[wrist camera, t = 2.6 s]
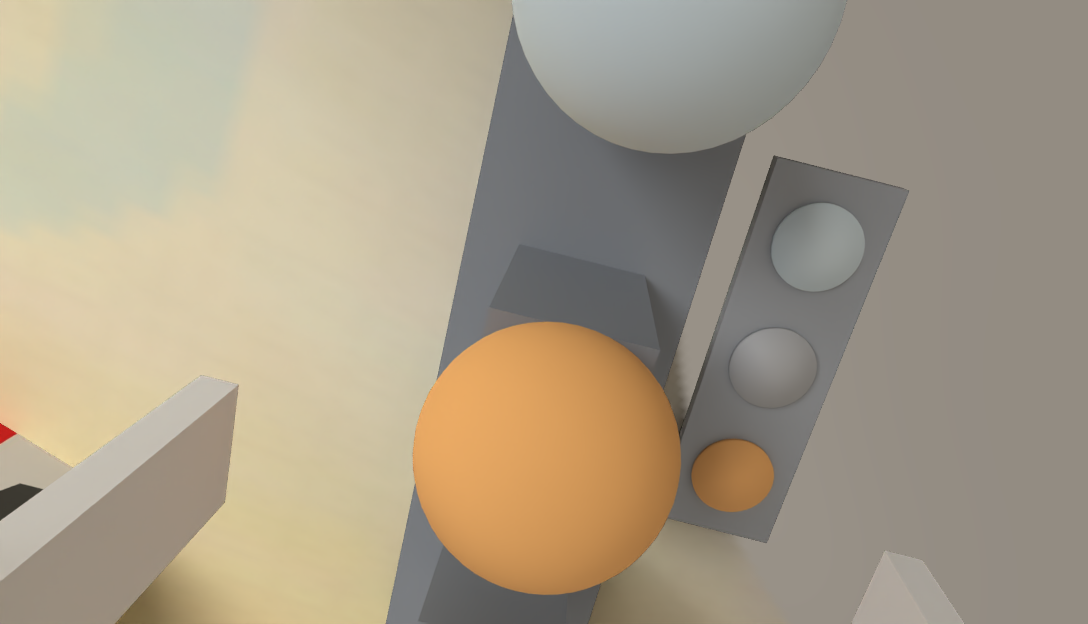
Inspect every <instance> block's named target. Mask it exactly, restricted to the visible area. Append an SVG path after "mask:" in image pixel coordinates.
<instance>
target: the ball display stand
mask: <svg viewBox="0 0 1088 624" xmlns="http://www.w3.org/2000/svg"><path fill="white" fill-rule="evenodd" d="M745 135H746V134H745ZM745 135H743V136H741V137H739V138H737V139H735V140H733V141H730V142H728V143H725V144H722V145H719V146H716V147H714V148H709V149H705V150H700V151H695V152H688V153H676V154H665V153H649V152H644V151H639V150H633V149H629V148H626V147H623V146H620V145H617V144H614V143H611V142H609V141H607V140H605V139H603V138H601V137H599V136H597V135H595V134H593V133H591V132H590V131H588V130H587V129H585V128H584V127H582V126H581V125H579V124H578V123H576V122H575V121H574V120H573V119H572V118H571V117H569V116H568V115H567V114H566V113H565V112H564V111H563V110H561V109H560V107H559V106H558V105H557V104H556V103H555V102H554V101H553V100H552V98H551V97H550V96H549V95H548V94H547V93H546V91H545V90H544V88H543V87H542V85H541V84H540V82H539V81H538V79H537V78H536V76H535V74H534V72H533V70H532V68H531V66H530V64H529V62H528V60H527V58H526V56H525V54H524V51H523V48H522V45H521V43H520V40H519V37H518V33H517V29H516V24H515V20H514V15H513V18H512V22H511V27H510V32H509V37H508V42H507V46H506V51H505V56H504V61H503V65H502V70H501V75H500V80H499V85H498V89H497V94H496V99H495V104H494V109H493V113H492V118H491V123H490V128H489V132H488V137H487V142H486V147H485V152H484V156H483V161H482V166H481V171H480V176H479V180H478V185H477V190H476V195H475V199H474V204H473V209H472V214H471V219H470V223H469V228H468V233H467V238H466V242H465V247H464V252H463V257H462V262H461V266H460V271H459V276H458V281H457V286H456V290H455V295H454V300H453V305H452V309H451V314H450V319H449V324H448V329H447V333H446V338H445V343H444V348H443V353H442V357H441V362H440V367H439V372H438V376H437V379H438V378H439V376H440V375H441V374H442V372H443V371H444V370H445V369H446V368H447V367H448V365H449V364H450V363H451V362H452V361H453V360H454V359H455V358H456V357H457V356H459V355H460V354H461V353H462V352H463V351H464V350H466V349H467V348H468V347H470V346H471V345H473V344H474V343H476V342H477V341H479V340H480V339H482V338H484V337H486V336H488V335H490V334H492V333H494V332H496V331H499V330H502V329H505V328H508V327H511V326H514V325H520V324H525V323H532V322H563V323H568V324H574V325H579V326H582V327H585V328H588V329H591V330H594V331H597V332H599V333H601V334H603V335H606V336H608V337H610V338H612V339H613V340H615V341H616V342H618V343H620V344H621V345H623V346H624V347H626V348H627V349H628V350H629V351H631V352H632V353H633V354H634V355H635V356H637V357H638V358H639V359H640V360H641V362H642V363H643V364H644V365H645V366H646V367H647V368H648V369H649V370H650V372H651V373H652V374H653V376H654V377H655V378H656V380H657V381H658V383H659V384H660V385H661V387H662V389H663V390H664V387H665V384H666V381H667V377H668V374H669V371H670V368H671V365H672V362H673V359H674V356H675V353H676V350H677V346H678V343H679V340H680V337H681V334H682V331H683V328H684V325H685V322H686V319H687V315H688V312H689V309H690V306H691V303H692V300H693V297H694V294H695V291H696V287H697V285H698V281H699V278H700V275H701V272H702V269H703V266H704V263H705V259H706V257H707V254H708V250H709V247H710V244H711V241H712V238H713V235H714V232H715V229H716V226H717V223H718V219H719V216H720V213H721V210H722V207H723V204H724V201H725V198H726V195H727V191H728V188H729V185H730V182H731V179H732V176H733V173H734V170H735V167H736V164H737V160H738V158H739V154H740V151H741V148H742V145H743V142H744V139H745ZM600 585H601V583H600V584H598V585H595V586H593V587H590V588H587V589H584V590H580V591H576V592H572V593H565V594H557V595H540V594H528V593H523V592H518V591H514V590H510V589H507V588H504V587H501V586H498V585H496V584H494V583H491V582H489V581H487V580H485V579H484V578H482V577H480V576H478V575H477V574H475V573H474V572H472V571H471V570H469V569H468V568H467V567H465V566H464V565H463V564H462V563H461V562H460V561H459V560H458V559H456V558H455V557H454V556H453V555H452V554H451V553H450V552H449V551H448V550H447V548H446V547H445V546H444V545H443V544H442V542H441V541H440V540H439V539H438V537H437V535H436V534H435V532H434V531H433V529H432V528H431V526H430V524H429V522H428V519H427V517H426V515H425V513H424V511H423V509H422V507H421V503H420V500H419V497H418V494H417V489H416V483H415V486H414V491H413V496H412V501H411V506H410V510H409V515H408V520H407V525H406V530H405V534H404V539H403V544H402V549H401V553H400V558H399V563H398V568H397V573H396V577H395V582H394V587H393V592H392V596H391V601H390V606H389V611H388V616H387V620H386V624H588V622H589V619H590V616H591V613H592V610H593V607H594V604H595V600H596V597H597V594H598V591H599V588H600Z"/></svg>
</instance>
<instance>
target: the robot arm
mask: <svg viewBox="0 0 1088 624" xmlns="http://www.w3.org/2000/svg"><path fill="white" fill-rule="evenodd" d="M238 386H239V385H238V384H234V383H230V382H226V381H223V380H219V379H215V378H211V377H207V376H203V375H201V376H199V377H198V378H196V379H195V380H194V381H192V382H191V383H189V384H188V385H187V386H185V387H184V388H183V389H181V390H180V391H178V392H177V393H176V394H174V395H173V396H172V397H170V398H169V399H167V400H166V401H165V402H163V403H162V404H161V405H159V406H158V407H156V408H155V409H154V410H152V411H151V412H150V413H148V414H147V415H145V416H144V417H143V418H141V419H140V420H138V421H137V422H136V423H134V424H133V425H132V426H130V427H129V428H127V429H126V430H125V431H123V432H122V433H121V434H119V435H118V436H116V437H115V438H114V439H112V440H111V441H110V442H108V443H107V444H105V445H104V446H103V447H101V448H100V449H99V450H97V451H96V452H94V453H93V454H92V455H90V456H89V457H87V458H86V459H85V460H83V461H82V462H81V463H79V464H78V465H76V466H75V467H74V468H72V469H71V470H70V471H68V472H67V473H65V474H64V475H63V476H61V477H60V478H59V479H57V480H56V481H54V482H53V483H52V484H50V485H49V486H48V487H46V488H45V489H41V488H37V487H33V486H29V485H25V484H21V483H19V484H17V485H14V486H11V487H9V488H6V489H3V490H0V624H115V623H116V622H117V621H118V620H119V618H120V617H121V616H122V615H123V614H124V613H125V612H126V611H127V610H128V609H129V607H130V606H131V605H132V604H133V603H134V602H135V601H136V600H137V599H138V598H139V596H140V595H141V594H142V593H143V592H144V591H145V590H146V589H147V588H148V586H149V585H150V584H151V583H152V582H153V581H154V580H155V579H156V578H157V577H158V575H159V574H160V573H161V572H162V571H163V570H164V569H165V568H166V567H167V566H168V564H169V563H170V562H171V561H172V560H173V559H174V558H175V557H176V556H177V554H178V553H179V552H180V551H181V550H182V549H183V548H184V547H185V546H186V545H187V543H188V542H189V541H190V540H191V539H192V538H193V537H194V536H195V535H196V534H197V532H198V531H199V530H200V529H201V528H202V527H203V526H204V525H205V524H206V522H207V521H208V520H209V519H210V518H211V517H212V516H213V515H214V514H215V513H216V511H217V510H218V509H219V508H220V507H221V506H222V505H223V504H224V503H225V497H226V489H227V480H228V472H229V463H230V454H231V446H232V437H233V429H234V420H235V412H236V403H237V395H238ZM851 624H964V622H963V620H962V619H961V617H960V616H959V614H958V613H957V611H956V610H955V608H954V607H953V605H952V604H951V602H950V601H949V599H948V598H947V596H946V595H945V593H944V592H943V590H942V589H941V587H940V586H939V584H938V583H937V581H936V580H935V578H934V577H933V575H932V573H931V572H930V570H929V569H928V567H927V566H926V565H925V563H924V561H923V560H921V559H917V558H913V557H909V556H905V555H901V554H898V553H894V552H889V551H886V550H885V551H884V553H883V555H882V557H881V560H880V562H879V564H878V566H877V568H876V570H875V572H874V575H873V577H872V579H871V581H870V583H869V586H868V588H867V590H866V592H865V594H864V596H863V598H862V601H861V603H860V605H859V607H858V609H857V611H856V614H855V616H854V618H853V620H852V623H851Z"/></svg>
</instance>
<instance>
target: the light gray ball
mask: <svg viewBox="0 0 1088 624" xmlns="http://www.w3.org/2000/svg"><path fill="white" fill-rule="evenodd" d="M846 2H847V0H512V8H513V15H514V20H515V24H516V29H517V33H518V37H519V40H520V43H521V45H522V48H523V51H524V54H525V56H526V58H527V60H528V62H529V64H530V66H531V68H532V70H533V72H534V74H535V76H536V78H537V79H538V81H539V82H540V84H541V85H542V87H543V88H544V90H545V91H546V93H547V94H548V95H549V96H550V97H551V98H552V100H553V101H554V102H555V103H556V104H557V105H558V106H559V107H560V109H561V110H563V111H564V112H565V113H566V114H567V115H568V116H569V117H571V118H572V119H573V120H574V121H575V122H576V123H578V124H579V125H581V126H582V127H584V128H585V129H587V130H588V131H590V132H591V133H593V134H595V135H597V136H599V137H601V138H603V139H605V140H607V141H609V142H611V143H614V144H617V145H620V146H623V147H626V148H629V149H633V150H639V151H644V152H649V153H665V154H676V153H688V152H695V151H700V150H705V149H709V148H714V147H716V146H719V145H722V144H725V143H728V142H730V141H733V140H735V139H737V138H739V137H741V136H743V135H745V134H747V133H749V132H751V131H753V130H755V129H756V128H757V127H759V126H761V125H762V124H764V123H765V122H767V121H768V120H770V119H771V118H772V117H773V116H775V115H776V114H777V113H778V112H779V111H780V110H782V109H783V108H784V107H785V106H786V105H787V104H788V103H790V102H791V101H792V100H793V98H794V97H795V96H796V95H797V94H798V93H799V92H800V91H801V90H802V89H803V88H804V86H805V85H806V84H807V83H808V82H809V80H810V79H811V77H812V76H813V75H814V73H815V72H816V70H817V69H818V68H819V66H820V65H821V63H822V61H823V59H824V57H825V56H826V54H827V52H828V50H829V49H830V47H831V45H832V43H833V40H834V38H835V35H836V33H837V31H838V28H839V26H840V23H841V20H842V17H843V13H844V10H845V6H846Z"/></svg>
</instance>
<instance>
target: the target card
mask: <svg viewBox="0 0 1088 624" xmlns="http://www.w3.org/2000/svg"><path fill="white" fill-rule="evenodd" d="M908 193H909V190H906V189H904V188H900V187H896V186H892V185H888V184H885V183H881V182H877V181H873V180H869V179H865V178H861V177H857V176H853V175H849V174H845V173H841V172H837V171H833V170H829V169H825V168H821V167H817V166H814V165H809V164H806V163H802V162H798V161H794V160H790V159H786V158H781V157H778V156H773V160H772V162H771V165H770V168H769V171H768V174H767V177H766V180H765V183H764V186H763V189H762V192H761V195H760V198H759V201H758V204H757V207H756V210H755V213H754V216H753V219H752V221H751V225H750V227H749V230H748V233H747V236H746V239H745V242H744V246H743V248H742V251H741V254H740V257H739V260H738V263H737V266H736V269H735V272H734V275H733V278H732V281H731V284H730V286H729V290H728V292H727V295H726V298H725V301H724V304H723V307H722V310H721V313H720V316H719V319H718V322H717V325H716V328H715V331H714V334H713V337H712V340H711V343H710V346H709V349H708V352H707V354H706V357H705V361H704V363H703V366H702V369H701V372H700V375H699V378H698V381H697V384H696V387H695V390H694V393H693V396H692V399H691V402H690V405H689V408H688V411H687V414H686V417H685V420H684V422H683V425H682V428H681V431H680V434H679V438H680V449H681V470H680V478H679V484H678V489H677V493H676V497H675V500H674V504H673V506H672V509H671V511H670V513H669V515H668V518H669V519H673V520H677V521H681V522H685V523H689V524H693V525H697V526H701V527H705V528H709V529H713V530H716V531H720V532H724V533H728V534H732V535H736V536H740V537H744V538H748V539H752V540H756V541H760V542H764V543H767V541H768V538H769V536H770V534H771V531H772V528H773V526H774V524H775V521H776V519H777V516H778V514H779V511H780V509H781V506H782V504H783V501H784V499H785V496H786V494H787V491H788V489H789V486H790V484H791V482H792V479H793V477H794V474H795V472H796V469H797V467H798V464H799V462H800V460H801V457H802V455H803V452H804V450H805V447H806V445H807V442H808V439H809V437H810V435H811V432H812V430H813V427H814V425H815V422H816V420H817V417H818V415H819V413H820V410H821V408H822V405H823V403H824V400H825V398H826V395H827V393H828V390H829V388H830V385H831V383H832V380H833V378H834V376H835V373H836V371H837V368H838V366H839V363H840V361H841V358H842V356H843V353H844V351H845V348H846V346H847V343H848V341H849V339H850V336H851V334H852V331H853V329H854V326H855V324H856V321H857V319H858V316H859V314H860V311H861V309H862V306H863V304H864V301H865V299H866V297H867V294H868V292H869V289H870V287H871V284H872V282H873V279H874V277H875V274H876V272H877V269H878V267H879V264H880V262H881V260H882V257H883V255H884V252H885V250H886V247H887V245H888V242H889V240H890V237H891V235H892V232H893V230H894V227H895V225H896V222H897V220H898V218H899V215H900V213H901V210H902V208H903V205H904V203H905V200H906V197H907V195H908Z"/></svg>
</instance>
